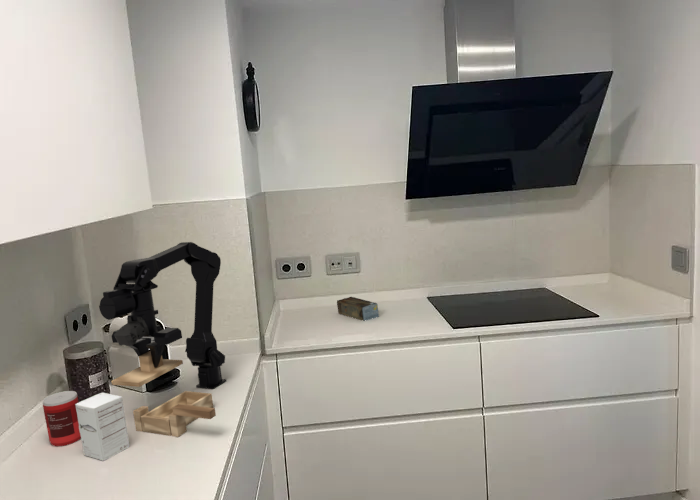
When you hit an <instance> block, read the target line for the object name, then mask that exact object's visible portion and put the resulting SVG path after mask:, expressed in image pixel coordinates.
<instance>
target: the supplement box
mask: <svg viewBox="0 0 700 500" xmlns="http://www.w3.org/2000/svg"><path fill="white" fill-rule="evenodd" d="M75 405H76V411H77V417H78V423H79V429H80V435H81V439H80V440H81V445H82V453H83V455H84V456H87V457H90V458H93V459H97V460H100V461H102V462H104V461H106V460H108V459H111V458H112V457H114V456H115V455H117V454H119V453H121V452H123V451H124V450H126V449H128V448H130V439H129V433H128V426H127V421H126V414H125V406H124V402H123V396H122V395H117V394H113V393H112V394H111V393H107V392H100V393H97V394H95V395H93V396H90V397H88V398H86V399H83V400H81V401H79V403H77V404H75Z"/></svg>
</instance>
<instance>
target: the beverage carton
mask: <svg viewBox="0 0 700 500" xmlns="http://www.w3.org/2000/svg"><path fill="white" fill-rule="evenodd" d="M336 306H337V313H338V315H341V314H343V315H342V316H345V315H346V317H348V316H349V318H352V317H353V318H352V319H355V318H356V320H360V321H362V320H363V322H366V321H369V320H373V319H376V317H377V318H379V317H380V314H379V308H378V306H379V305H378V303H377V302H372V301H370V300H365V299H362V298H359V297H358V298H357V297H354V296H349V297H344V298H342V299H338V300H336ZM372 318H373V319H372ZM365 320H366V321H365Z"/></svg>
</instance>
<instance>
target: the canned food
mask: <svg viewBox="0 0 700 500" xmlns="http://www.w3.org/2000/svg"><path fill="white" fill-rule="evenodd" d="M79 402H80V401H79V397H78V393H77V392H76V391H75V390H65V391H60V392H55V393H53V394H50V395H48V396H46V397H45V398H44V399H42V408H43V415H44V419H45V424H46V429H47V435H48V441H49V443H50V445H51V446H53V447H65V446H69V445H71V444H74V443H76V442H78V441H79V440H81V435H80V429H79V423H78V417H77V411H76V405H75V404H77V403H79Z"/></svg>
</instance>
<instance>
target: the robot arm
mask: <svg viewBox="0 0 700 500" xmlns="http://www.w3.org/2000/svg"><path fill="white" fill-rule="evenodd" d="M221 260H222V259H221V257H220V256H219V254H218V253H216V252H213V251H211V250H209V249H207V248H204V247H202V246H199V245H198V244H196V243H194V242H192V241H185V242H184V241H183V242H182V241H181V242H179V243H177V245H174V246H172V247H170V248H167V249H166V250H165V249H164V250H163V251H160V252H158V253H156V254H153V255H151V256H149V257H143V258H138V259H132V260H128V261H125V262H123V263H122V264H121V267H120V271H119V274H118V277H117V278H116V281H115V284H114V286H113V290H106V291H103V292H102V296H103V297H102V298H101V299H100V301H99V305H98V307H99V309H98V310H99V312H100V314H101V316H102V317H103V318H104V319H106V320H108V321H110V320H114V319H117V318H120V317H123V316H126V315H127V318H126V320H127V321H126V322H127V323H125V324H124V325H122V326H121V327H120V328H119V329H117V330H115V331H113V332H112V334H111V342H112V343H113V344H118V345H119V346H120V347H121V346H126V347H128V348H130V349H133V351H134V352H135V354H136V355H137V357H138V358H139V356H140V355H143V354H145V353H147V352H149V351H151V356H152V361H153V365H154V368H156V367H158V365H159V362H160V359H161V356H162V357H163V352H164V349H165V347H166V346H167V345H171V344H173V343H174V342H177V341H178V340H181V339H182V338H183V334H182V330H181V329H180V328H179V327H166V328H164V329H162V328H161V325H160V324H157V319H156V315H158V314H159V310H158V309H155V306H154V305H155V304H154V299H153V294H152V290H155V289H157V288H158V287H159V285H158V284H156V283H154V282H153V281H152V280H153V279H155V278H156V277H157V276H158V275H159V273H160V272H161V271H162V270H165V269H166V268H168V267H171V266H173V265H175V264H176V263H177V264H178V263H179V262H181V261H184V263H185V264H187V265H189V266H190V270H191V271H190V272H191V276H192V277H193V279H194V281H195V302H194V303H195V304H194V323H193V324H194V328H193V333H192V334H191V335H190V337H187V338H186V340H185V351H184V352H185V353H186V357H187V359H189V361H190V363H191V365H192V366H193V367H197V371H198V373H197V378H198V382H199V383H198V384H196V386H195V387H196V388H199V389H211V390H213V389H216V388H217V387H218V386H221V385H222V384H223V383H225V382H227V379H226V378H223V377H222V368H221V366H223V364H225V363H226V362H225V361H226V355H225V354H224V353H223V352H221V351H219V350H218V342H217V339H216V337H215V335H214V333H213V331H212V330H213V328H212V327H213V305H214V304H213V303H214V283H215V281H216V280H217V278H218V277H219V275H220V270H221V264H222V262H221ZM161 329H162V330H161Z"/></svg>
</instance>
